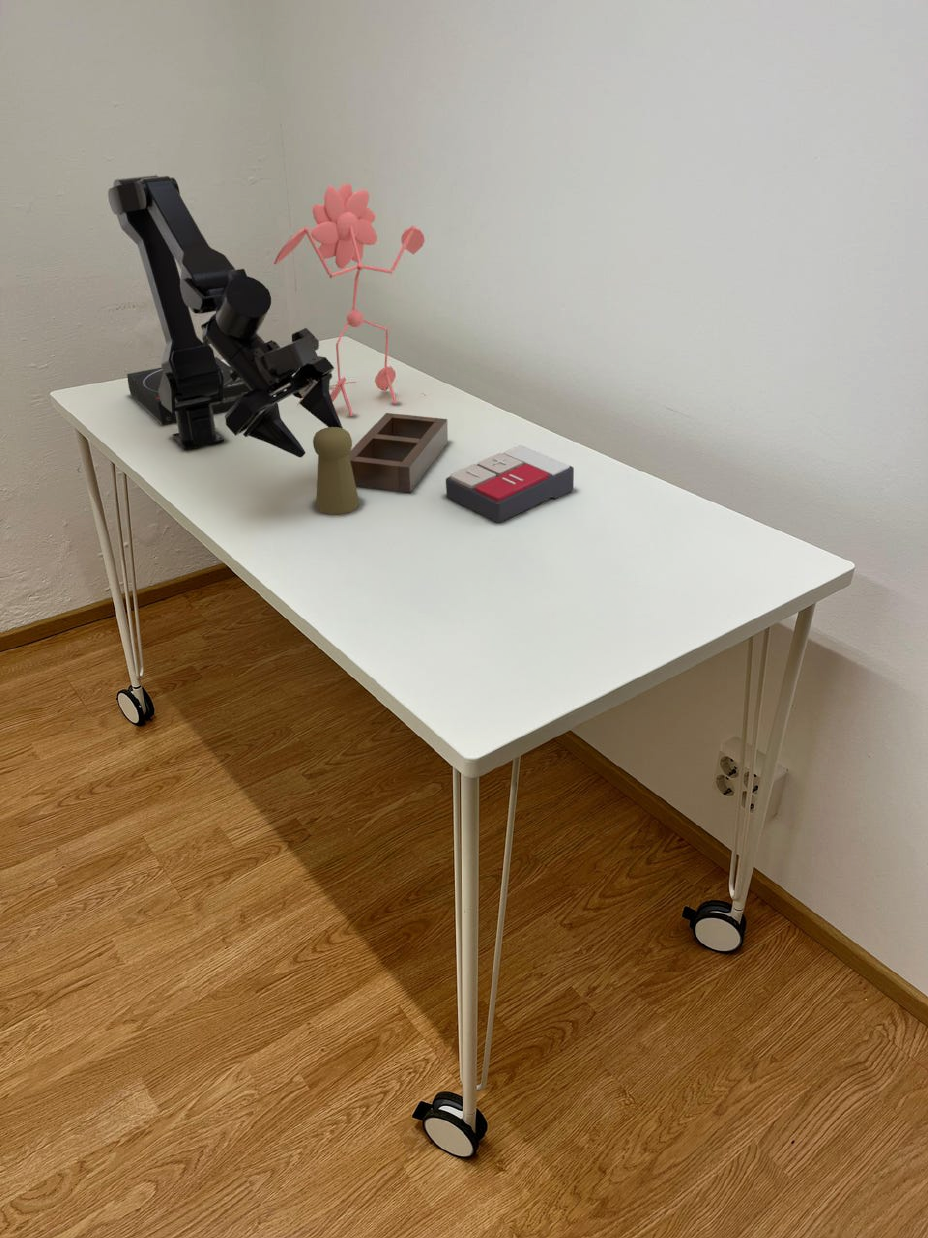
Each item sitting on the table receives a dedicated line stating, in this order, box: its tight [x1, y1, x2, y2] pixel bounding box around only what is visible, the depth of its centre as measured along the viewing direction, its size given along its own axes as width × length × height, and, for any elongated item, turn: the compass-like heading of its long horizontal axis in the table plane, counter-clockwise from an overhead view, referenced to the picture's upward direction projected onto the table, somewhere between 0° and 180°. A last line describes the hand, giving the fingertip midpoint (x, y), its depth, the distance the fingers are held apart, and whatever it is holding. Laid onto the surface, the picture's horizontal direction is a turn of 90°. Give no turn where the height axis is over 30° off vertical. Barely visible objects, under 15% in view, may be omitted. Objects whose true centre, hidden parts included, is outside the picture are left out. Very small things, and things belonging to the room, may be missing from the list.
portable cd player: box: [126, 356, 250, 426], centre depth 171 cm, size 16×17×4 cm
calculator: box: [445, 444, 575, 523], centre depth 139 cm, size 11×4×15 cm
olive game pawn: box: [312, 426, 360, 515], centre depth 134 cm, size 6×6×11 cm
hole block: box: [349, 412, 449, 494], centre depth 148 cm, size 10×19×4 cm, turn 164°
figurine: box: [273, 182, 427, 417], centre depth 162 cm, size 15×26×35 cm, turn 128°
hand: (322, 443), depth 133 cm, fingers open, 9 cm apart
